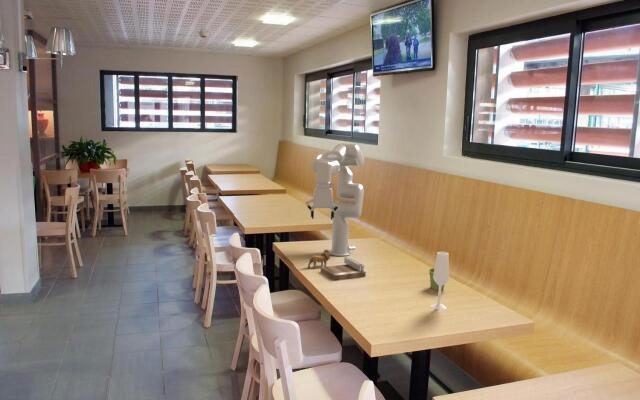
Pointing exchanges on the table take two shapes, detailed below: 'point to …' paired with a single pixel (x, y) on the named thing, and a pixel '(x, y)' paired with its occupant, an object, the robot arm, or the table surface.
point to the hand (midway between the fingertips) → (322, 218)
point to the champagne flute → (441, 276)
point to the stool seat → (342, 272)
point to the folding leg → (354, 264)
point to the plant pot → (432, 282)
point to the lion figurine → (320, 258)
